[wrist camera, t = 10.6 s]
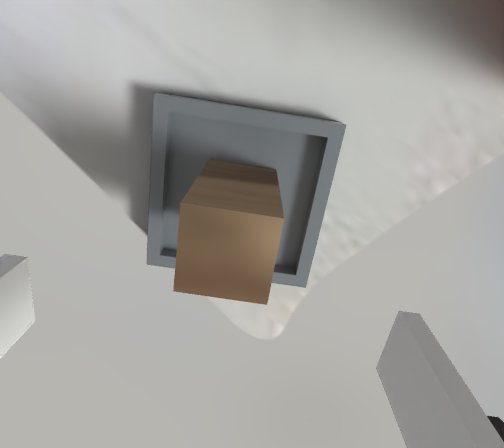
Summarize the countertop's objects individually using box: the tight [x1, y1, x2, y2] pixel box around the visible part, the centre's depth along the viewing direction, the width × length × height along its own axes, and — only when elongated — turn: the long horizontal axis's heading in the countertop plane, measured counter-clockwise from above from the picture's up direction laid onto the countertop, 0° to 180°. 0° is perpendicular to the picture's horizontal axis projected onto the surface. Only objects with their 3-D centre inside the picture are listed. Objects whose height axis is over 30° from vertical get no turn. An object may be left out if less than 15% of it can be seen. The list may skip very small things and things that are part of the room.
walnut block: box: [174, 159, 284, 305], centre depth 22 cm, size 5×5×10 cm
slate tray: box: [147, 93, 346, 288], centre depth 26 cm, size 13×13×2 cm
